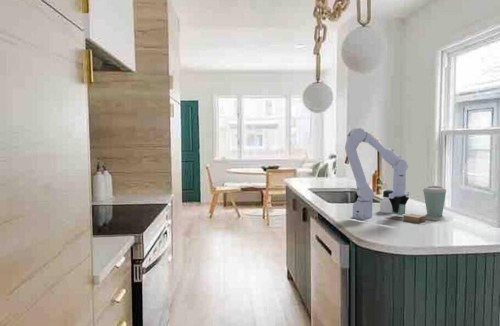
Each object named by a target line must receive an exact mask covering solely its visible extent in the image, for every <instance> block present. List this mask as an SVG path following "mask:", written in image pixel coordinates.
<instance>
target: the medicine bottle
mask: <svg viewBox="0 0 500 326" xmlns="http://www.w3.org/2000/svg"><path fill="white" fill-rule="evenodd" d="M391 193H393V189H390V190H389V189H388V190H386V189H385V190H384V191H383V192H382V199H380V200H379V212H380V213H387V214H392V205H391V202H390V200H389V194H391Z"/></svg>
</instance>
